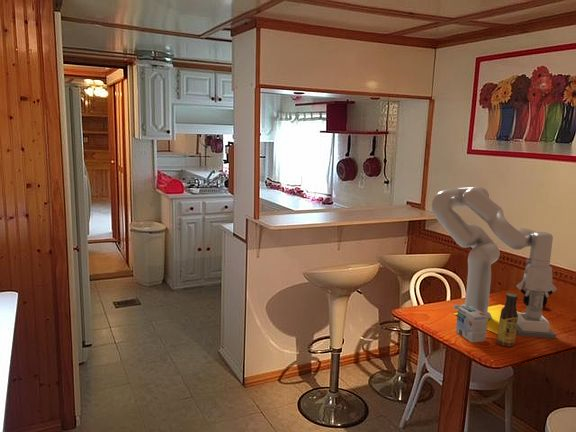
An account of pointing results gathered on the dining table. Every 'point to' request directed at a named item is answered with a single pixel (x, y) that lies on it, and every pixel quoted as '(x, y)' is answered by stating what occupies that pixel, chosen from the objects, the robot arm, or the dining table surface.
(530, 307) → the energy drink can
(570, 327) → the dining table surface
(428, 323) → the dining table surface
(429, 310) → the dining table surface
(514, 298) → the sauce bottle
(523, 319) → the board
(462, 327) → the light bulb box
